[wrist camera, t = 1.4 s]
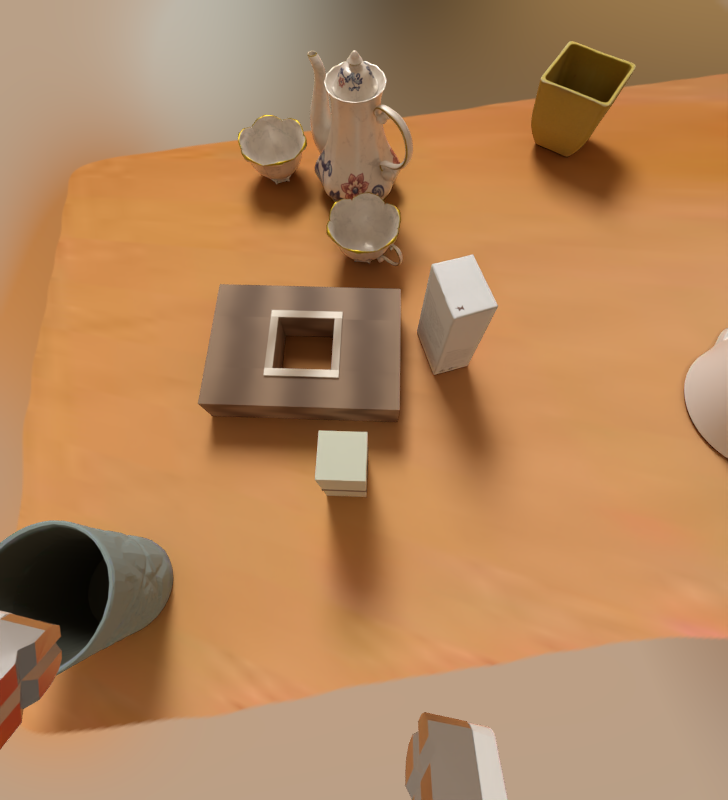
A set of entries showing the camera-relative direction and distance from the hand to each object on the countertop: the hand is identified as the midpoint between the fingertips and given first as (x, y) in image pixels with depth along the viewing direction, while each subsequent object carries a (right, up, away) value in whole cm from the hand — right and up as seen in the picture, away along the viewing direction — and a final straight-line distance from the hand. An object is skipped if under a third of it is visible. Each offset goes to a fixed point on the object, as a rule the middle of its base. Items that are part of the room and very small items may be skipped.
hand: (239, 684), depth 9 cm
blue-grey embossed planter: (-19, -11, +31) cm, 38 cm away
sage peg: (+1, -2, +34) cm, 34 cm away
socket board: (-3, +11, +38) cm, 40 cm away
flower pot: (+30, +43, +50) cm, 72 cm away
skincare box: (+12, +12, +39) cm, 42 cm away
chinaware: (0, +33, +47) cm, 57 cm away
